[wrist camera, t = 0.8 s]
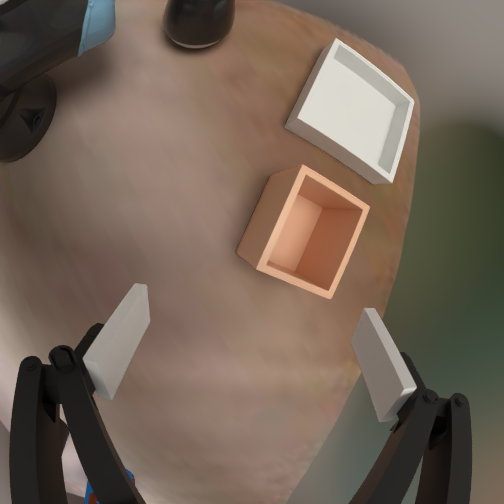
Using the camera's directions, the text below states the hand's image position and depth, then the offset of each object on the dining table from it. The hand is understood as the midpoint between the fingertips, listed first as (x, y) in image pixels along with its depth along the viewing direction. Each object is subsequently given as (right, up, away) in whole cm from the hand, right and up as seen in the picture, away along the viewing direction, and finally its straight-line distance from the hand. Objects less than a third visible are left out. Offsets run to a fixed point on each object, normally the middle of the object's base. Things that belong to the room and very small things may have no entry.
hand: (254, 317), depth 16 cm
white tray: (+16, +27, +24) cm, 39 cm away
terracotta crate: (+4, +7, +24) cm, 26 cm away
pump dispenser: (-9, +38, +16) cm, 42 cm away
